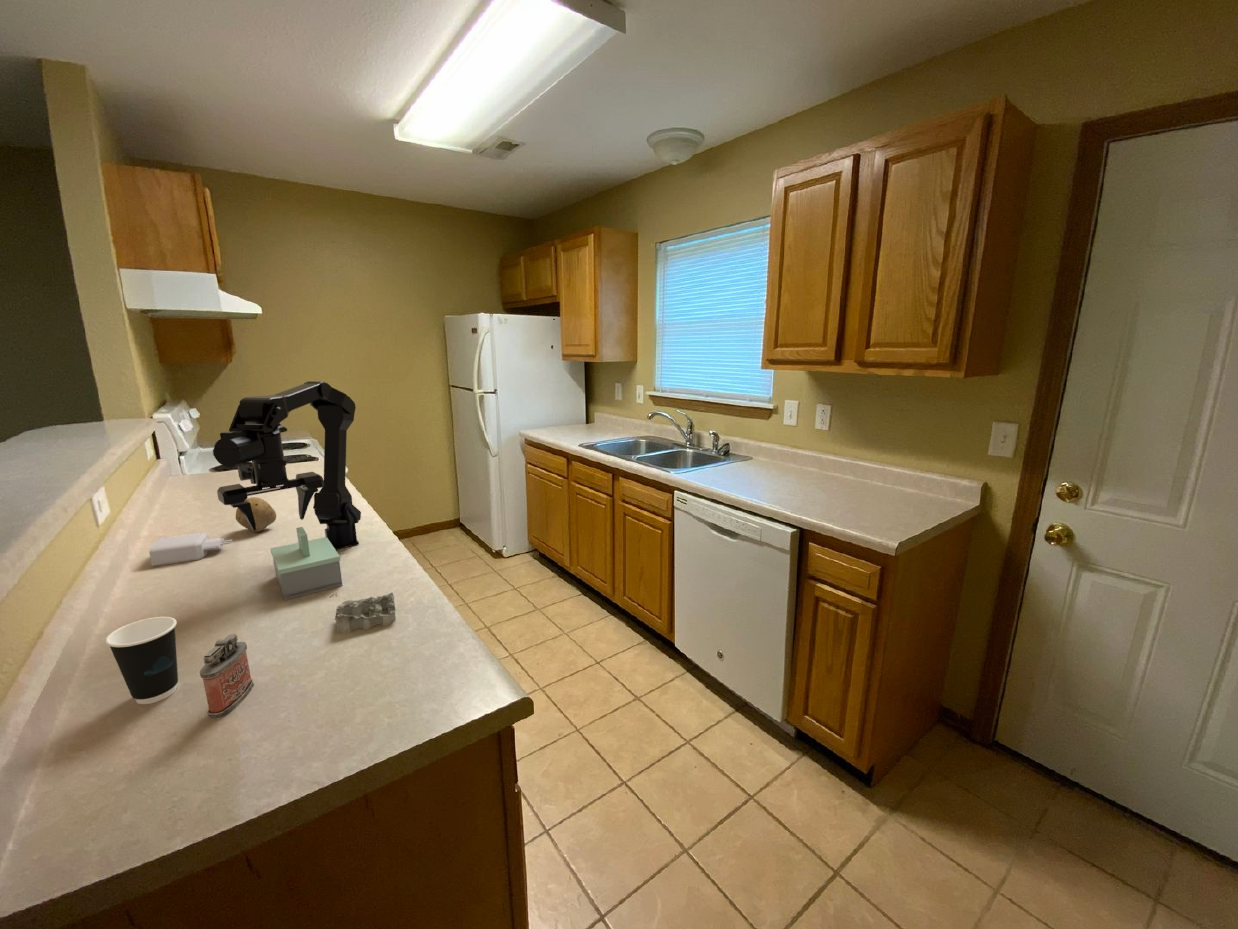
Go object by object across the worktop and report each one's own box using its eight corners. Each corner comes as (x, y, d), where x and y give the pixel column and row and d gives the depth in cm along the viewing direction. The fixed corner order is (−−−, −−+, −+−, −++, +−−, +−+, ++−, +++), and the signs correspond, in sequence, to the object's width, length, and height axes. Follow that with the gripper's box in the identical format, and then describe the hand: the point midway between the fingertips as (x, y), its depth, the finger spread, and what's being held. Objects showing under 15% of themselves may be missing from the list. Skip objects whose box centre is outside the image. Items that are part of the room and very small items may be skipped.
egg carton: (334, 637, 96) (331, 617, 95) (338, 617, 103) (336, 598, 102) (396, 625, 100) (394, 606, 99) (396, 607, 107) (394, 589, 106)
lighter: (237, 683, 82) (226, 627, 80) (259, 682, 83) (249, 626, 80) (202, 719, 75) (189, 658, 72) (226, 718, 75) (214, 657, 73)
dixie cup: (171, 707, 77) (156, 641, 74) (107, 715, 75) (90, 648, 73) (200, 674, 85) (187, 613, 82) (143, 681, 83) (128, 619, 80)
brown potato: (230, 534, 144) (224, 499, 142) (262, 523, 152) (256, 491, 150) (251, 538, 141) (246, 504, 139) (283, 528, 149) (278, 495, 147)
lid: (327, 544, 125) (324, 517, 123) (341, 564, 114) (337, 534, 112) (271, 556, 118) (267, 527, 116) (280, 579, 107) (275, 547, 105)
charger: (229, 557, 130) (152, 568, 123) (236, 544, 138) (164, 553, 131) (226, 539, 129) (148, 549, 122) (233, 527, 137) (160, 536, 130)
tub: (329, 564, 126) (326, 541, 124) (342, 585, 115) (339, 560, 114) (275, 576, 119) (272, 552, 118) (284, 600, 109) (280, 574, 107)
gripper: (303, 444, 123) (311, 506, 127) (205, 457, 109) (218, 526, 113) (320, 451, 116) (329, 517, 120) (218, 465, 102) (231, 539, 106)
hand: (278, 524), depth 115 cm, fingers open, 9 cm apart
